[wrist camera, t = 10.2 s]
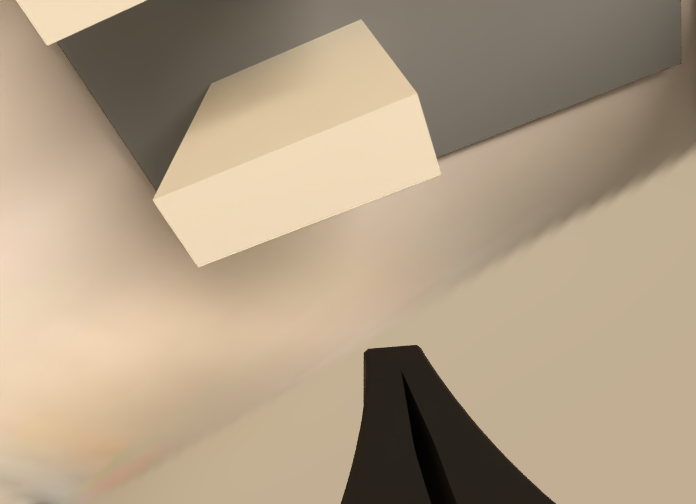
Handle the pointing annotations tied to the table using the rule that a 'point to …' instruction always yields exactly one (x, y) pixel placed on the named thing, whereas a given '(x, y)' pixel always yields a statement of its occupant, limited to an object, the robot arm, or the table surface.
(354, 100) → the domino
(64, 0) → the domino
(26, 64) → the table surface
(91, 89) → the mat
